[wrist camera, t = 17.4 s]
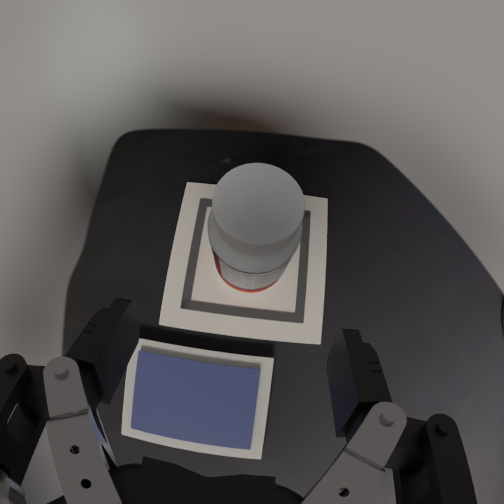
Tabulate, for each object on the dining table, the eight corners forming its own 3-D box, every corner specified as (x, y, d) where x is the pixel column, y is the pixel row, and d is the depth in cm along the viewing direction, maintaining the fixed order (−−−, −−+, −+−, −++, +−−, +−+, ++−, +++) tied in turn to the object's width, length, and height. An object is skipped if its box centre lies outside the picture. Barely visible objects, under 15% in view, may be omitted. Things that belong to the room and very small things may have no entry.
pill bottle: (226, 221, 28) (220, 144, 17) (291, 237, 28) (321, 168, 17) (206, 284, 26) (185, 236, 16) (276, 302, 26) (303, 266, 15)
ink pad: (272, 357, 25) (274, 358, 23) (260, 454, 22) (261, 461, 20) (135, 337, 25) (129, 336, 23) (126, 431, 22) (119, 435, 20)
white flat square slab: (327, 199, 30) (327, 198, 29) (319, 344, 25) (320, 344, 25) (187, 183, 30) (187, 181, 29) (159, 324, 25) (158, 324, 25)
